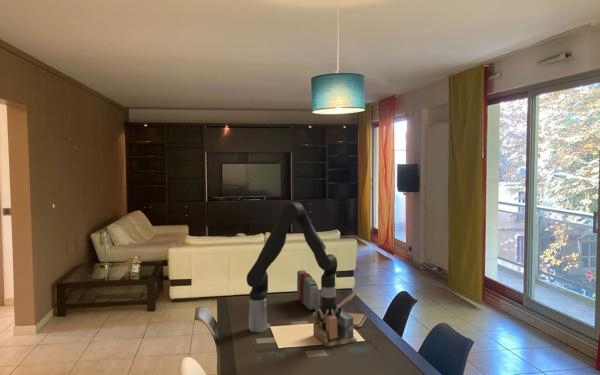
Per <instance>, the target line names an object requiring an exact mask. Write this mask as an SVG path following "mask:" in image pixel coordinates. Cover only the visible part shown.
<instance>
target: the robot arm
mask: <svg viewBox="0 0 600 375" xmlns="http://www.w3.org/2000/svg"><path fill="white" fill-rule="evenodd" d="M278 216H279V217H278V218H277V220H276V224H275V225H274V227H273V228H272V230H271V232H270V234H269V236H268V237H267V239H266V241H265V243H264V244H263V247H262V249H261V250H260V253H259V255H258V257H257V259H256V260H255V262H254V264H253V265H252V267H251V269H249V272H247V275H246V283H247V285H248V286H249V287H250V288H251V290H250V292H249V294H248V296H249V297H248V299H249V302H248V303H249V304H248V305H249V310H248V330H249V331H250V332H251V333H264V332H266V331H267V330H268V311H267V310H268V309H267V306H268V305H267V304H268V303H267V295H268V290H269V275H268V271H267V270H268V268H269V267H270V266H271V265H272V263H273V262H275V260H276V259H277V257H279V255H280V254H281V252H282V250H283V248H284V247H285V244H286V240H287V234H288V232H289V229H290V228H291V225H292V223H293V222H294V221H295V222H296V223H297V224H298V226H299V228H301V232H302V233H303V237H304V239H305V240H304V241H305V242H306V245H307V246H308V247H309V249H310V250H311V252H312V253H313V255H314V258H315V262H316V263H317V265H318V267H319V268H320V269H321V270H322V271H323V273H322V275H321V277H320V281H321V282H320V284H321V286H320V307H319V308H317V309H314V310H315V312H316V315H317V318H318V320H319V321H320V322H322V328H323V329H324V330H326V323H325V321H326V316H327V315H334V316H335V317H336V318H337V320H338V319H339V317H340V313H341V310H342V309H343V308H342V309H341V308H340V307H337V291H336V290H337V289H336V274H337V270H338V259H337V257H336V256H335V255H334V254H332V253H331V254H330V253H329V254H327V253H326V247H327V246H326V245H325V243H324V241H323V240H322V239H321V237H320V236H319V234H318V233H317V231H316V229H315V228H314V225H313V224H312V222H311V220H310V218H309V216H308V214H307V212H306V210H305V208H304V206H303V204H301V203H300V202H298V201H292V202H286V204H284V205H283V207H282V209H281V212H280V214H279V215H278ZM335 310H336V315H335V314H334V312H335ZM321 311H322V313H323V314H322V319H321V316H320V313H321ZM324 315H325V316H324Z"/></svg>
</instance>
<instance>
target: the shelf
mask: <svg viewBox="0 0 600 375" xmlns="http://www.w3.org/2000/svg"><path fill="white" fill-rule="evenodd" d="M347 313H348V312H346V311H345V309H344V308H342V310H341V313H340V317H339V319H338V320H337V338H334V339H329V338H328V337H327V332H325V331H324V330H323V329H322V328H321V325H320V321H319V320H318V318H317V315H316V312H313V314H312V319H313V336H314V337H315V338H316V339H317V340H318V341H319V342H320V343H321V344H322V345H323V346H324V347H332V346H339V345H344V344H352V343H357V341H358V339H357V338H356V337H355V336H354V327H353V317H351V316H350V315H348V314H347ZM334 314H335V315H336V310H335V312H334Z"/></svg>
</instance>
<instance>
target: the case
mask: <svg viewBox="0 0 600 375" xmlns="http://www.w3.org/2000/svg"><path fill="white" fill-rule="evenodd" d="M357 292H358V290H354V291H353V292H352V293H351V294H349V295H348V296H347V297H346V298H344V299H343V300H342V301H341V302H340V303H338V304H336V306H337V307H340V308H341V309H344V307H346V306H347V305H348V304H349V303H351V302H352V300H353V298H355V297H356V295H357ZM346 313H347V314H348V315H350V316H351V317H353V329H355V328H357V329H359V328H361V327H362V326H363V324H364V323H365V322H366V319H367V318H368V316H367V315H366V314H363V313H355V312H346Z"/></svg>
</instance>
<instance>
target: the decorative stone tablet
mask: <svg viewBox="0 0 600 375" xmlns="http://www.w3.org/2000/svg"><path fill="white" fill-rule="evenodd" d="M296 273H297V274H296V276H297V277H296V278H297V279H296V284H297V286H296V291H297V292H296V293H297V297H298V299H299V300H300V303H301V304H302V305H303V306H305V308H306V309H308V310H316V309H317V310H318V307H319V306H320V301H321V296H320V290H319V285H318V284H317V282H316V280H315V279H314V278H313V276H311V274H310V273H307V271H306V270H305V269H301V270H297V272H296Z"/></svg>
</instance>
